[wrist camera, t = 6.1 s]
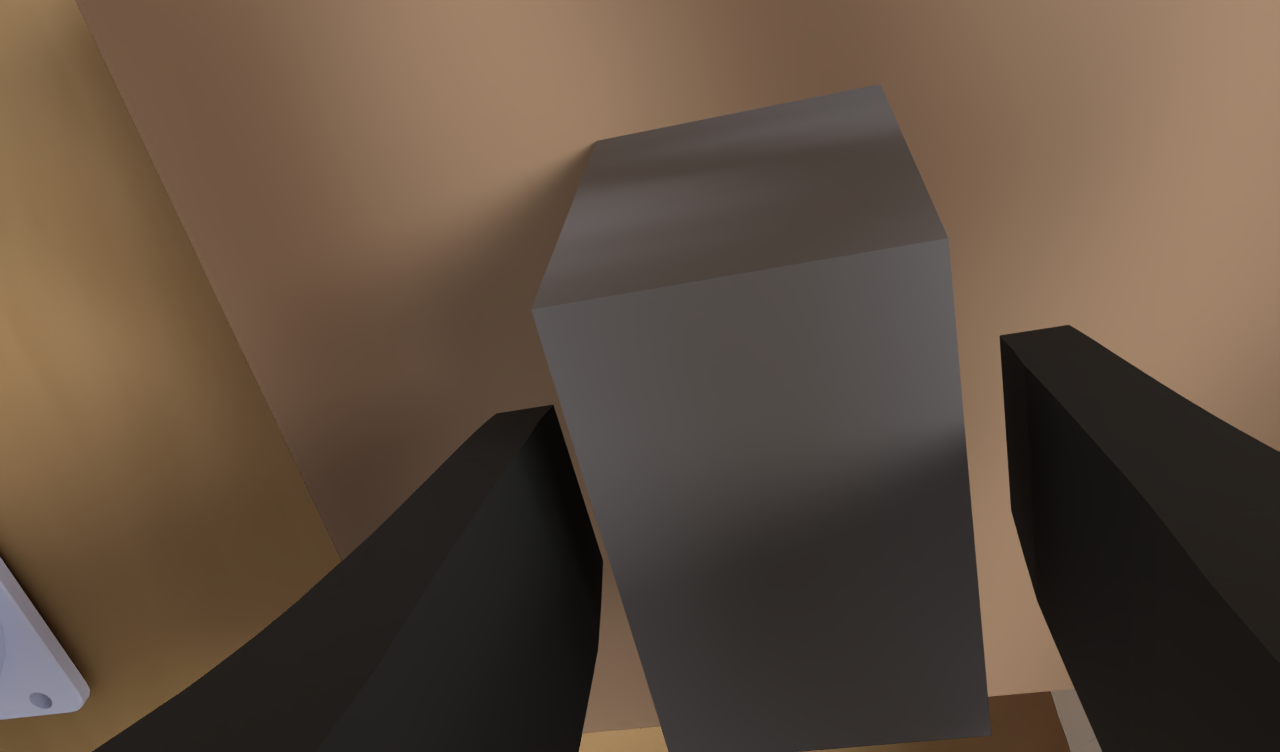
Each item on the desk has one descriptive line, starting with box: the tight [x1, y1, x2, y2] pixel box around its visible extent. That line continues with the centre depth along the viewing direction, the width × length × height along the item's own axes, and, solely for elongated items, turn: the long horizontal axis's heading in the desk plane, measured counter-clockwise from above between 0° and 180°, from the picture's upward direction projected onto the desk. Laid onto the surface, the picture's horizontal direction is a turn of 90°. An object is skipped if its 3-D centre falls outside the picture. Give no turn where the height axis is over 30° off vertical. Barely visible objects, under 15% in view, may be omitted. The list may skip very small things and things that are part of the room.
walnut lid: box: [75, 0, 1280, 752], centre depth 11 cm, size 13×13×5 cm
